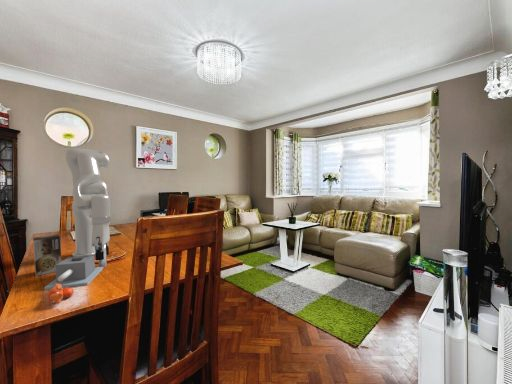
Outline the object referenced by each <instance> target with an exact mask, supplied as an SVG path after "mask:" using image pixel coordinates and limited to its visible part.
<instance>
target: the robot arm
mask: <svg viewBox="0 0 512 384" xmlns="http://www.w3.org/2000/svg"><path fill="white" fill-rule="evenodd" d="M65 160H66V161H65V162H66V164H67V166H68V168H69V170H70V172H71V177H72V178H71V179H72V187H73V188H72V199H73V202H72V204H71V209H72V214H73V220H74V235H75V236H74V237H75V238H74V239H75V241H74V242H75V251H74V252H73V253H72V255H71V257H77V256H89V255H94V258H95V261H99V260H103V259H104V251H103V245H105V244H106V256H109V254H110V251H109V250H110V245H109V242H110V239H111V235H110V233H111V232H110V224H111V198H110V196H109V191H108V185H107V184H106V182H105V181H103V180H101V173H100V169H108V168H110V164H111V161H110V160H111V159H110V157H109V155H108V154H107V152H106V153H105V152H104V151H102V150H99V149H87V148H79V147H77V148H76V147H75V148H69V149H67V150H66V151H65ZM99 244H101V245H99ZM100 247H101V248H100Z"/></svg>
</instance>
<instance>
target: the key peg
mask: <svg viewBox="0 0 512 384" xmlns="http://www.w3.org/2000/svg"><path fill="white" fill-rule="evenodd" d="M99 245H101V244H99ZM100 248H101V247H100ZM103 251H104V259H103V260H98V267H103V269H104V268H106V267H107V255H106V244H105V245H103Z"/></svg>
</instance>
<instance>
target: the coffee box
mask: <svg viewBox="0 0 512 384" xmlns="http://www.w3.org/2000/svg"><path fill="white" fill-rule="evenodd" d="M32 241H33V255H34V269H35V271H34V273H35V277H37V276H42V275H46V274H51V273H56V264H58V263H60V262H61V261H63V259H62V245H61V236H60V234H52V235H51V234H50V235H43V236H37V237H33V239H32Z"/></svg>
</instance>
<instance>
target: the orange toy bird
mask: <svg viewBox="0 0 512 384" xmlns="http://www.w3.org/2000/svg"><path fill="white" fill-rule="evenodd" d="M74 292H75V291H74V288H72V287H65V288H62V286H61V284H55V287H53V288H52V289H49V291H48V292H47V294H46V300H47V301H48V302H51V304H52V305H55V304H58V305H60V303H61V301H62V300H63V298H70V297H72V296H73V295H74Z"/></svg>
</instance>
